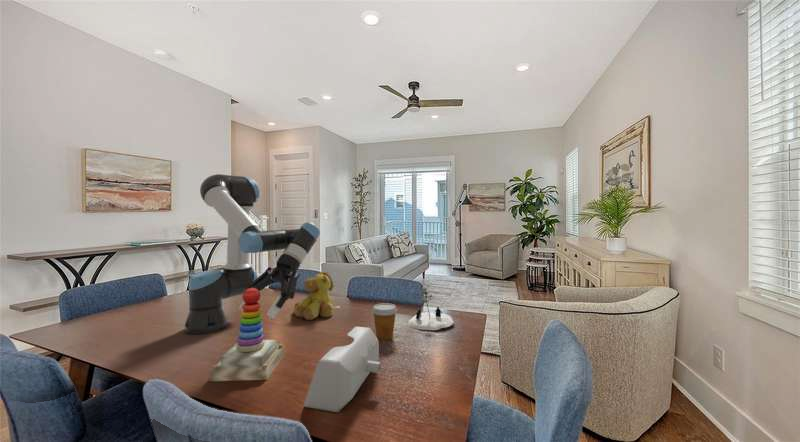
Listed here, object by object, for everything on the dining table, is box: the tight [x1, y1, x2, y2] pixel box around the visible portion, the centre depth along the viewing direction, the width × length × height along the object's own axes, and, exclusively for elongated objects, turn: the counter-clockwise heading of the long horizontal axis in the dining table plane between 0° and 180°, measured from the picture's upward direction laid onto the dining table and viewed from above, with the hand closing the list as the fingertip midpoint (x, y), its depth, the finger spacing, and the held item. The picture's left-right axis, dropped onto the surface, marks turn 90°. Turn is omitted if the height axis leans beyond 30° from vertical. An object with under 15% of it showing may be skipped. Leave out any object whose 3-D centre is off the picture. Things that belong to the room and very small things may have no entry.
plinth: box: [209, 339, 286, 382], centre depth 97 cm, size 16×16×6 cm
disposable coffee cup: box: [371, 302, 398, 341], centre depth 120 cm, size 10×10×12 cm
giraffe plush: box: [293, 271, 341, 321], centre depth 151 cm, size 20×24×19 cm
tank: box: [303, 326, 382, 413], centre depth 87 cm, size 25×16×12 cm, turn 166°
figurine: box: [408, 287, 454, 331], centre depth 135 cm, size 20×18×16 cm
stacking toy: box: [236, 288, 265, 352], centre depth 97 cm, size 8×8×19 cm
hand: (255, 313), depth 99 cm, fingers open, 13 cm apart
